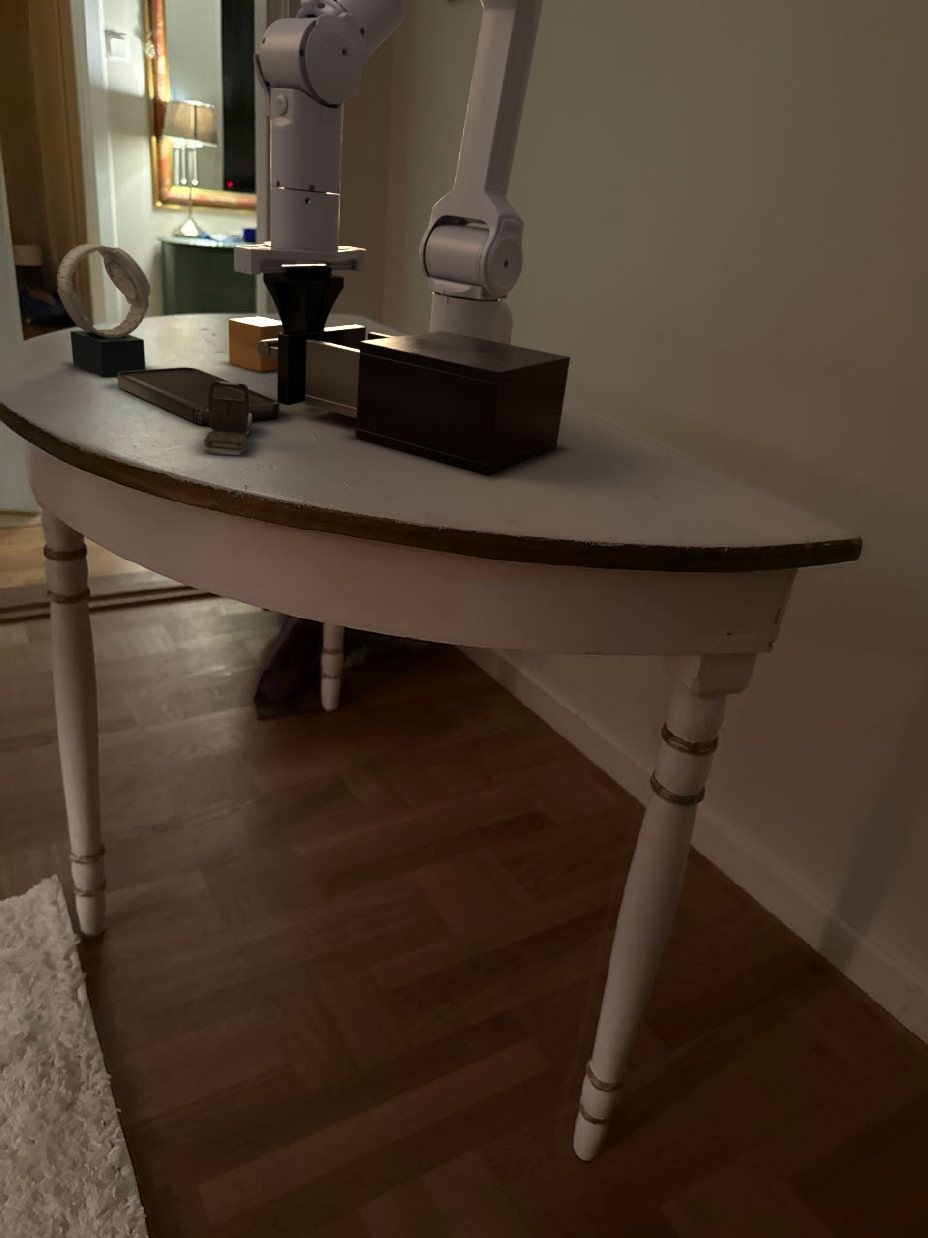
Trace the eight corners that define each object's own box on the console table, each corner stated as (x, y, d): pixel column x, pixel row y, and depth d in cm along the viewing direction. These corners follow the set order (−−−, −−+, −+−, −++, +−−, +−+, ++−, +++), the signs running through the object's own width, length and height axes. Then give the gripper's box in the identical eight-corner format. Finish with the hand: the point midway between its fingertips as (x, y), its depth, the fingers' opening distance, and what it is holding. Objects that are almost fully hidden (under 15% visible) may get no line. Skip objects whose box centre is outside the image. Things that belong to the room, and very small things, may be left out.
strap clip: (214, 419, 71) (214, 366, 69) (253, 422, 71) (253, 369, 69) (202, 453, 63) (200, 394, 61) (245, 456, 64) (245, 397, 62)
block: (259, 359, 95) (259, 316, 93) (291, 367, 93) (291, 323, 91) (229, 363, 92) (228, 319, 90) (261, 372, 90) (260, 326, 88)
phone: (202, 412, 69) (112, 371, 78) (202, 426, 69) (113, 384, 78) (285, 403, 74) (192, 366, 83) (285, 416, 74) (193, 378, 83)
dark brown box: (355, 437, 71) (359, 341, 68) (434, 416, 80) (442, 330, 77) (487, 475, 66) (499, 372, 62) (556, 448, 75) (570, 356, 71)
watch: (164, 371, 85) (158, 249, 80) (84, 378, 80) (73, 247, 75) (133, 360, 88) (125, 242, 84) (54, 365, 83) (41, 239, 78)
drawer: (238, 392, 77) (237, 323, 75) (316, 378, 85) (318, 316, 83) (384, 432, 70) (388, 358, 68) (454, 413, 78) (460, 346, 76)
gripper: (325, 190, 80) (321, 343, 86) (204, 180, 69) (209, 357, 75) (387, 198, 77) (378, 356, 83) (271, 189, 66) (270, 372, 72)
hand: (302, 357), depth 79 cm, fingers closed
